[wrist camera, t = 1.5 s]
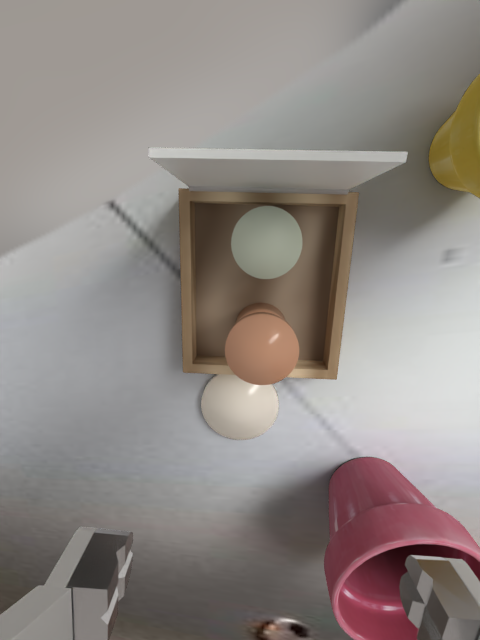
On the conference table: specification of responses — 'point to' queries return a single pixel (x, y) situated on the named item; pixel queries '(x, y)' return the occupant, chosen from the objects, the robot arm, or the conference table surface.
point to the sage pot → (266, 242)
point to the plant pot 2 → (459, 145)
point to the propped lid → (274, 169)
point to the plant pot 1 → (382, 546)
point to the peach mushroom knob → (261, 345)
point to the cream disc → (239, 407)
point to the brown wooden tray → (282, 292)
